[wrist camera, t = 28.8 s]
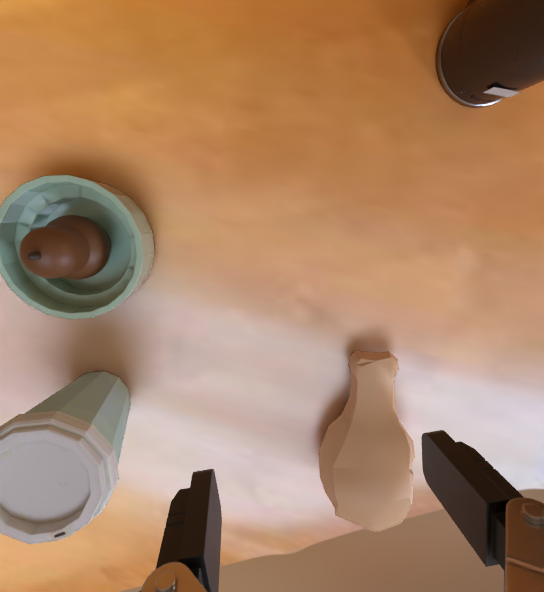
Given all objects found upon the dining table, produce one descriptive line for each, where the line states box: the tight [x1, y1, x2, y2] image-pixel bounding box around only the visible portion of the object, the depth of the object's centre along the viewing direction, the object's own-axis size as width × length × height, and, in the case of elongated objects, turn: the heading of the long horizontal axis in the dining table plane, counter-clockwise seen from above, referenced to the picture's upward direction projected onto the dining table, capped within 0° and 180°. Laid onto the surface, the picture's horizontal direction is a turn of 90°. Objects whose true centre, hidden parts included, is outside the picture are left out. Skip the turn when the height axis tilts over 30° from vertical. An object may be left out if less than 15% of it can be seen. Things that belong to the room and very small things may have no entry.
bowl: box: [0, 175, 155, 319], centre depth 35 cm, size 13×13×6 cm
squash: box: [319, 351, 415, 532], centre depth 42 cm, size 11×20×9 cm, turn 0°
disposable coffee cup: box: [0, 371, 131, 544], centre depth 34 cm, size 11×11×15 cm
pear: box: [19, 215, 112, 280], centre depth 32 cm, size 6×6×11 cm
